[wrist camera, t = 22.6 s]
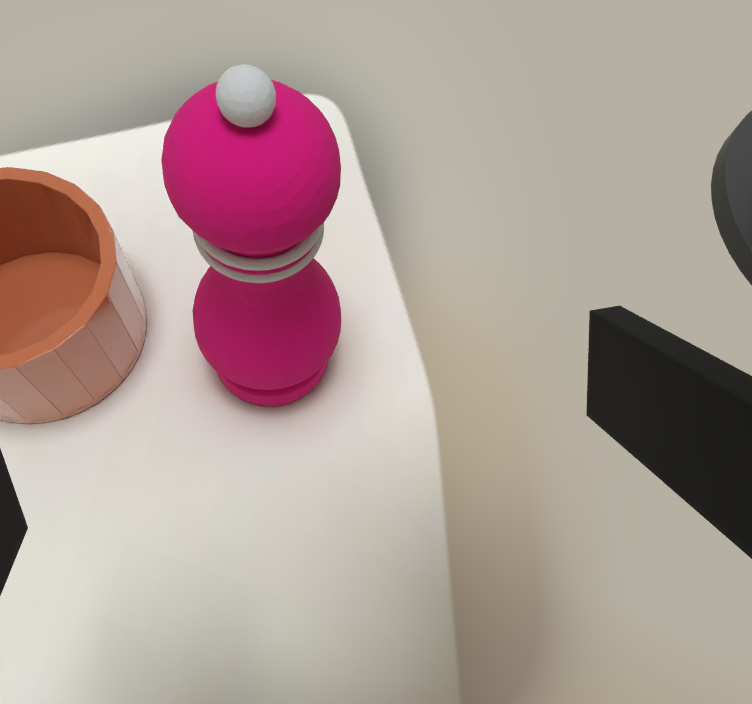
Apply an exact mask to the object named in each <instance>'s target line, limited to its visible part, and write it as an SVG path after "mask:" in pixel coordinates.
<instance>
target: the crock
mask: <svg viewBox="0 0 752 704" xmlns="http://www.w3.org/2000/svg"><path fill="white" fill-rule="evenodd" d="M145 334H146V311H145V306H144V303H143V297H142V295H141V292H140V290H139V288H138V286H137V283H136V281H135V279H134V277H133V274H132V272H131V270H130V268H129V265H128V263H127V261H126V259H125V256H124V254H123V252H122V250H121V247H120V245H119V243H118V241H117V238H116V236H115V234H114V232H113V230H112V228H111V226H110V224H109V222H108V220H107V218H106V216H105V214H104V213H103V211H102V209H101V207H100V206H99V205H98V204H97V203H96V202H95V201H94V200H93V199H92V198H90V197H89V196H88V195H87V194H86V193H85V192H84V191H82V190H81V189H80V188H79V187H78V186H76V185H75V184H73V183H70V182H68V181H66V180H63V179H61V178H59V177H56V176H54V175H52V174H49V173H47V172H42V171H35V170H27V169H20V168H12V167H11V168H9V167H7V168H0V420H3V421H8V422H13V423H26V424H28V423H43V422H50V421H56V420H59V419H63V418H66V417H70V416H72V415H75V414H77V413H80V412H82V411H84V410H86V409H88V408H90V407H91V406H93V405H95V404H97V403H98V402H99V401H101V400H102V399H104V398H105V397H107V396H108V395H109V394H110V393H111V392H112V391H114V390H115V389H116V388H117V387H118V386H119V385H120V384H121V382H122V381H123V380H124V379H125V378H126V377H127V375H128V374H129V372H130V371H131V370H132V368H133V367H134V365H135V363H136V361H137V359H138V357H139V355H140V352H141V350H142V347H143V344H144V339H145Z"/></svg>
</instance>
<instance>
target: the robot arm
mask: <svg viewBox="0 0 752 704" xmlns="http://www.w3.org/2000/svg"><path fill="white" fill-rule="evenodd" d="M587 387H588V388H587V416H588V417H589V418H590V419H592V420H593V421H594V422H595V423H596V424H597V425H598V426H600V427H601V428H602V429H603V430H604V431H605V432H606V433H608V434H609V435H610V436H611V437H612V438H613V439H615V440H616V441H617V442H618V443H619V444H620V445H621V446H623V447H624V448H625V449H626V450H627V451H628V452H629V453H631V454H632V455H633V456H634V457H635V458H637V459H638V460H639V461H640V462H641V463H642V464H643V465H644V466H646V467H647V468H648V469H649V470H650V471H651V472H652V473H654V474H655V475H656V476H657V477H658V478H659V479H661V480H662V481H663V482H664V483H665V484H666V485H667V486H669V487H670V488H671V489H672V490H673V491H674V492H676V493H677V494H678V495H679V496H680V497H681V498H682V499H684V500H685V501H686V502H687V503H688V504H689V505H690V506H692V507H693V508H694V509H695V510H696V511H697V512H699V513H700V514H701V515H702V516H703V517H704V518H705V519H707V520H708V521H709V522H710V523H711V524H712V525H714V526H715V527H716V528H717V529H718V530H719V531H720V532H722V533H723V534H724V535H725V536H726V537H727V538H728V539H730V540H731V541H732V542H733V543H734V544H735V545H737V546H738V547H739V548H740V549H741V550H742V551H743V552H745V553H746V554H747V555H748V556H749V557H750V558H751V559H752V376H750V375H749V374H746V373H745V372H743V371H741V370H739V369H737V368H735V367H734V366H732V365H730V364H728V363H726V362H724V361H722V360H720V359H719V358H717V357H715V356H713V355H711V354H709V353H707V352H706V351H704V350H702V349H700V348H698V347H696V346H694V345H692V344H691V343H689V342H687V341H685V340H683V339H681V338H679V337H677V336H676V335H674V334H672V333H670V332H668V331H666V330H664V329H662V328H660V327H659V326H657V325H655V324H653V323H651V322H649V321H647V320H646V319H644V318H642V317H639V316H638V315H636V314H634V313H632V312H631V311H629V310H627V309H625V308H623V307H621V306H614V307H609V308H603V309H597V310H591V311H590V322H589V354H588V385H587ZM27 529H28V527H27V524H26V521H25V518H24V515H23V512H22V509H21V506H20V504H19V501H18V498H17V495H16V492H15V489H14V486H13V483H12V481H11V478H10V475H9V472H8V469H7V466H6V463H5V461H4V458H3V455H2V452H1V449H0V595H1V593H2V590H3V588H4V585H5V583H6V581H7V578H8V576H9V573H10V571H11V568H12V566H13V563H14V561H15V558H16V556H17V553H18V551H19V548H20V546H21V544H22V541H23V539H24V536H25V534H26V531H27Z"/></svg>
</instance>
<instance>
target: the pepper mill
mask: <svg viewBox="0 0 752 704" xmlns="http://www.w3.org/2000/svg"><path fill="white" fill-rule="evenodd" d="M162 169H163V178H164V185H165V188H166V191H167V193H168V196H169V199H170V201H171V203H172V205H173V207H174V209H175V210H176V212H177V214H178V216H179V218H180V219H182V220H183V221H184V222H185V223H186V224H187V225H188V226H189V227H190V228H191V229H192V231H193V235H194V240H195V243H196V245H197V248H198V250H199V251H200V253H201V255H202V256H203V258H204V259H205V260H206V261H207V263H208V264H209V265H210V268H209V269H208V270H207V272H206V273H205V275H204V276H203V278H202V279H201V282H200V284H199V286H198V289H197V292H196V296H195V300H194V306H193V322H194V331H195V337H196V340H197V343H198V346H199V348H200V350H201V352H202V354H203V355H204V357H205V359H206V360H207V361H208V362H209V363H210V365H211V366H212V367H213V368H214V369H215V370H216V371H217V373H218V375H219V377H220V379H221V381H222V382H223V384H224V385H225V386H226V387H227V388H228V389H229V390H230V391H231V392H232V393H233V394H235V395H236V396H237V397H239V398H241V399H242V400H245V401H247V402H249V403H253V404H257V405H262V406H278V405H284V404H288V403H291V402H294V401H296V400H298V399H300V398H302V397H303V396H305V395H306V394H308V393H309V392H310V391H311V390H312V389H313V388H314V387H315V386H316V385H317V384H318V382H319V381H320V380H321V378H322V376H323V374H324V372H325V369H326V367H327V362H328V359H329V358H330V356H331V355H332V353H333V351H334V349H335V347H336V345H337V342H338V339H339V335H340V330H341V309H340V302H339V297H338V294H337V291H336V289H335V286H334V284H333V282H332V280H331V279H330V277H329V275H328V274H327V272H326V271H325V269H324V268H323V267H322V266H321V265H320V264H319V263H318V262H317V261H316V260H315V259H314V256H315V255H316V253H317V252H318V250H319V247H320V245H321V243H322V239H323V233H324V221H325V220H326V218H327V217H328V216H329V214H330V212H331V210H332V208H333V206H334V204H335V201H336V199H337V196H338V192H339V188H340V175H341V164H340V155H339V148H338V144H337V141H336V138H335V135H334V133H333V131H332V129H331V127H330V125H329V122H328V121H327V120H326V118H325V117H324V115H323V114H322V112H321V111H320V110H319V109H318V108H317V107H316V106H315V105H314V104H313V103H312V102H311V101H310V100H309V99H308V98H307V97H305V96H304V95H302V94H301V93H300V92H298V91H296V90H294V89H292V88H290V87H288V86H286V85H284V84H282V83H280V82H276V81H274V80H271V79H270V78H269V77H268V76H267V74H266V73H265V72H263V71H262V70H261V69H259V68H257V67H255V66H252V65H248V64H243V65H242V64H241V65H236V66H234V67H232V68H230V69H228V70H227V71H226V72H225V73H224V74H223V75H222V76H221V77H220V79H219V81H218V82H216V83H214V84H211V85H208V86H206V87H205V88H203V89H202V90H200V91H199V92H197V93H195V94H194V95H193V96H192V97H191V98H189V99H188V100H187V101H186V102H185V103H184V104H183V106H182V107H181V108H180V109H179V111H178V112H177V113H176V114H175V116H174V118H173V120H172V122H171V124H170V126H169V128H168V130H167V133H166V135H165V138H164V145H163V153H162Z"/></svg>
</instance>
